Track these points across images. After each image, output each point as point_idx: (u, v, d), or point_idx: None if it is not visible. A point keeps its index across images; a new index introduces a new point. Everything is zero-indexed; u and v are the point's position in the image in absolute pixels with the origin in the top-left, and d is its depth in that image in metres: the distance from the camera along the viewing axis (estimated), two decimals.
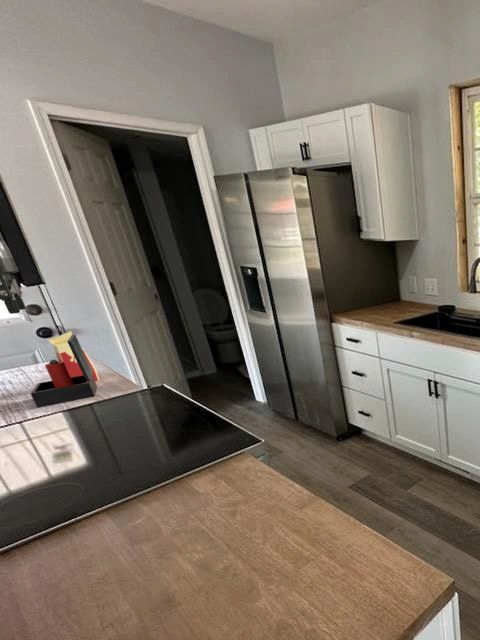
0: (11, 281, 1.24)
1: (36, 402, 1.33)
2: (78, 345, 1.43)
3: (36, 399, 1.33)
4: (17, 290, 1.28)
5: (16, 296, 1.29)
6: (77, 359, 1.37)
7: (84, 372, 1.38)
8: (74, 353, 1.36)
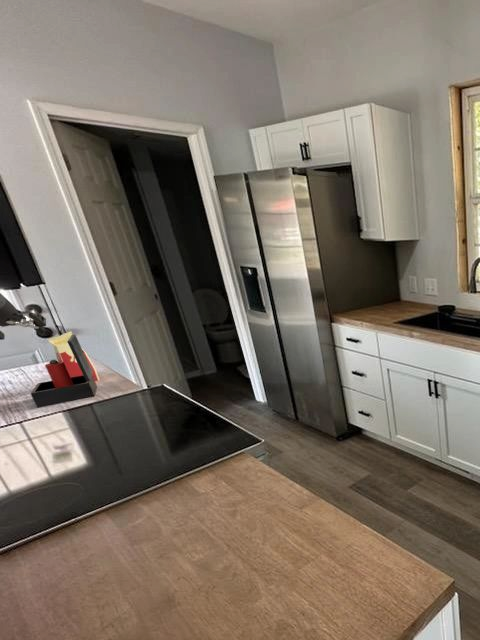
0: None
1: (36, 402, 1.33)
2: (78, 345, 1.43)
3: (36, 399, 1.33)
4: None
5: None
6: (77, 359, 1.37)
7: (84, 372, 1.38)
8: (74, 353, 1.36)
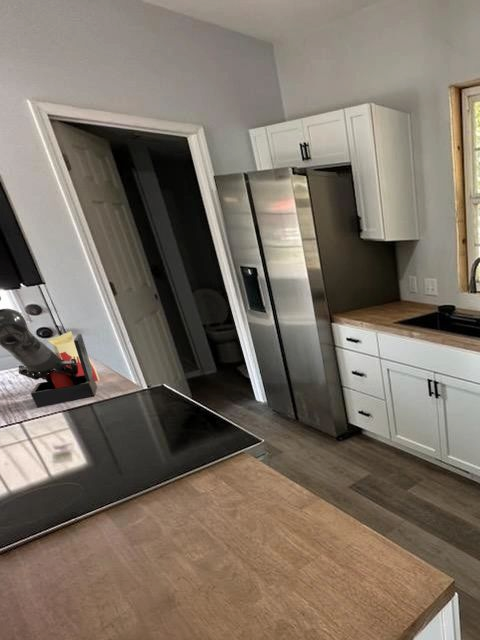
0: (39, 371, 1.32)
1: (36, 402, 1.33)
2: (83, 345, 1.44)
3: (36, 399, 1.33)
4: None
5: None
6: (81, 358, 1.37)
7: (85, 372, 1.39)
8: (79, 352, 1.36)
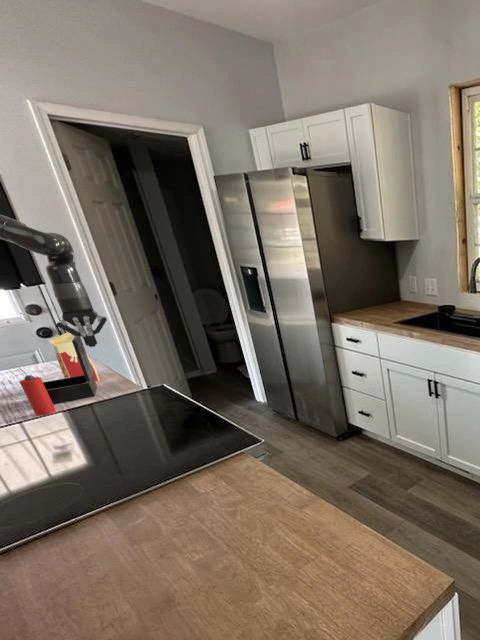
0: None
1: None
2: (81, 345, 1.43)
3: None
4: None
5: None
6: (80, 359, 1.37)
7: (85, 372, 1.39)
8: (77, 353, 1.36)
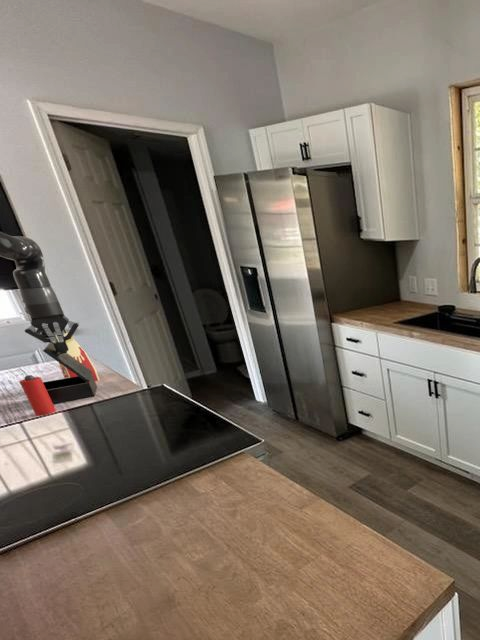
0: None
1: None
2: None
3: None
4: None
5: None
6: (64, 364, 1.35)
7: (79, 374, 1.38)
8: (57, 359, 1.34)
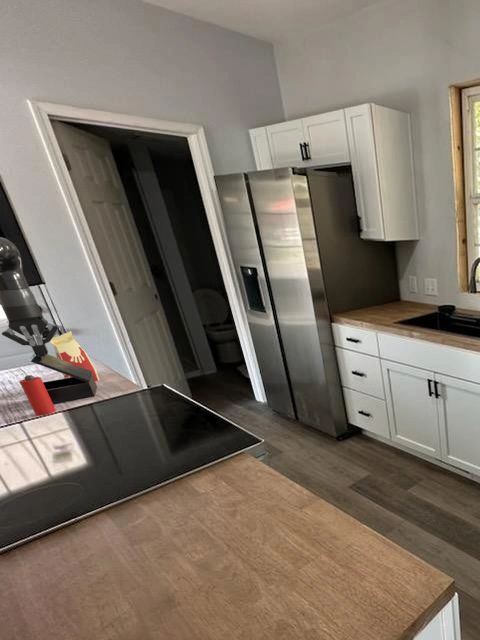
0: None
1: None
2: (51, 358, 1.39)
3: None
4: None
5: None
6: (57, 370, 1.34)
7: (76, 376, 1.37)
8: (48, 367, 1.33)
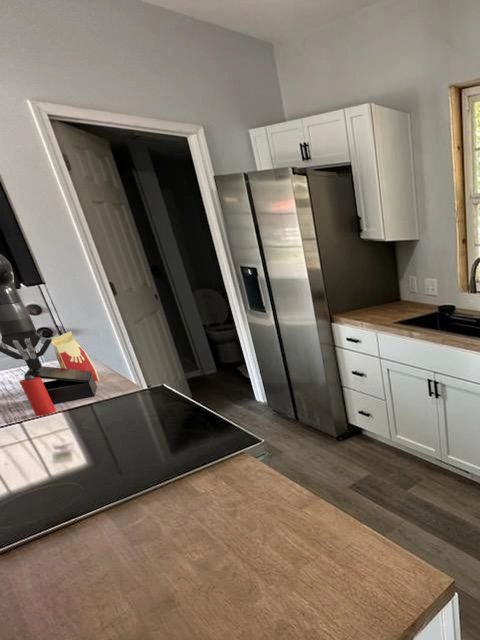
0: None
1: None
2: (45, 369, 1.39)
3: None
4: None
5: None
6: (53, 378, 1.34)
7: (74, 379, 1.37)
8: (44, 377, 1.33)
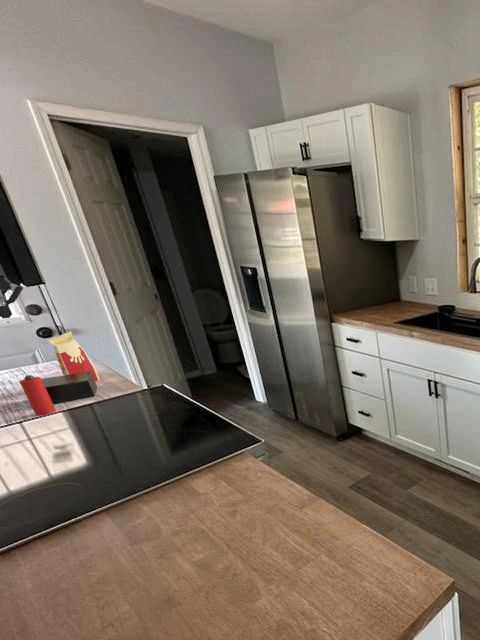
0: None
1: None
2: (46, 380, 1.40)
3: None
4: None
5: None
6: (54, 387, 1.35)
7: (74, 383, 1.38)
8: None
